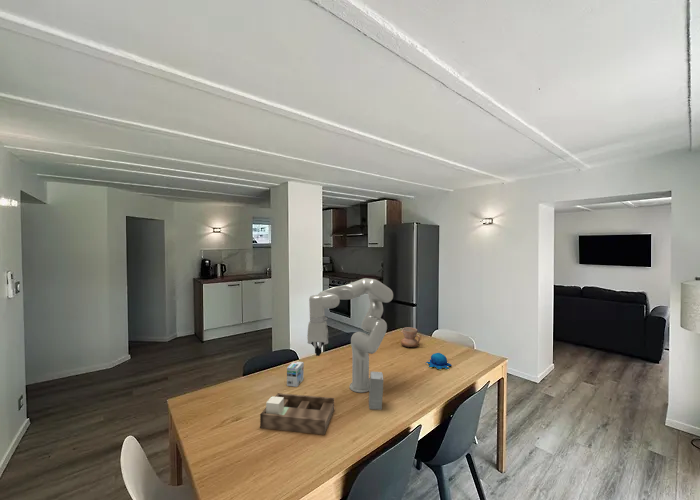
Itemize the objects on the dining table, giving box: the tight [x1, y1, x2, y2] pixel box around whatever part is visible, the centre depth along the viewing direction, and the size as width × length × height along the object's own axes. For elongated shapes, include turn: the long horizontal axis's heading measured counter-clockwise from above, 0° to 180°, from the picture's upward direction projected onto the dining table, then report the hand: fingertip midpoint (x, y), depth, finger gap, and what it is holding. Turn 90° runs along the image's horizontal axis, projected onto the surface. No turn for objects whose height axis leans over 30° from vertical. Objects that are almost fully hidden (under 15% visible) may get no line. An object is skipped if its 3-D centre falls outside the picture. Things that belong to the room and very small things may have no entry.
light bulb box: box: [286, 360, 305, 388], centre depth 173 cm, size 11×7×11 cm, turn 169°
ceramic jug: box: [400, 326, 421, 348], centre depth 242 cm, size 18×14×14 cm
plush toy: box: [425, 352, 453, 370], centre depth 201 cm, size 17×17×8 cm
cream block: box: [265, 395, 284, 415], centre depth 133 cm, size 6×6×6 cm
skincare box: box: [368, 371, 384, 411], centre depth 148 cm, size 8×7×16 cm
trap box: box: [259, 392, 335, 436], centre depth 136 cm, size 29×19×6 cm, turn 81°
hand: (318, 354), depth 150 cm, fingers closed
